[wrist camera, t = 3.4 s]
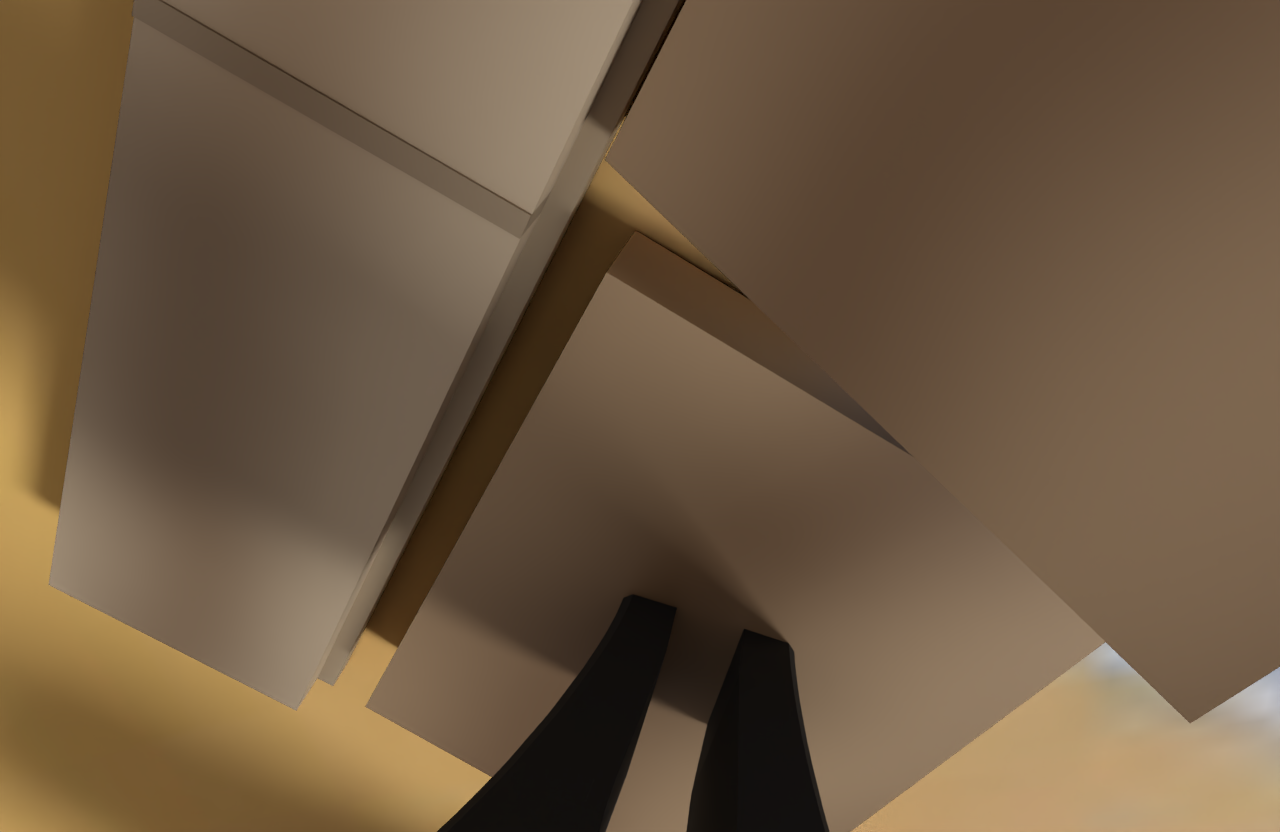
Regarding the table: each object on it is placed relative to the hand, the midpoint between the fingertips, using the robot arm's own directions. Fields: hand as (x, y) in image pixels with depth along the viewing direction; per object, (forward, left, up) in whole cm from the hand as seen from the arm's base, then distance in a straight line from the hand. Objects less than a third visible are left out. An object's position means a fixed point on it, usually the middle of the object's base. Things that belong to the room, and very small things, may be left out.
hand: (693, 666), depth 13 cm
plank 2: (0, 0, -1) cm, 1 cm away
